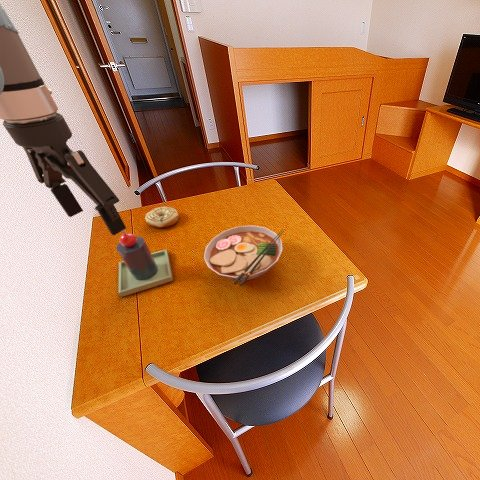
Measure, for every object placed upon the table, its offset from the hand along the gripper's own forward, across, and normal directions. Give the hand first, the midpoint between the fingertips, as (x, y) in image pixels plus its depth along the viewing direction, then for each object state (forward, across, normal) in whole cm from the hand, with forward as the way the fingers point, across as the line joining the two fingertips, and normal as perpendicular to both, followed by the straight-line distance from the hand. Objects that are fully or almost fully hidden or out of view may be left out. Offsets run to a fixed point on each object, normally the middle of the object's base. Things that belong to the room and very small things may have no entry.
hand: (96, 222), depth 58 cm
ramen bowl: (+27, -17, -23) cm, 39 cm away
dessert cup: (+26, +8, -7) cm, 28 cm away
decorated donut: (+27, +24, -28) cm, 46 cm away
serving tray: (+27, +8, -7) cm, 29 cm away
